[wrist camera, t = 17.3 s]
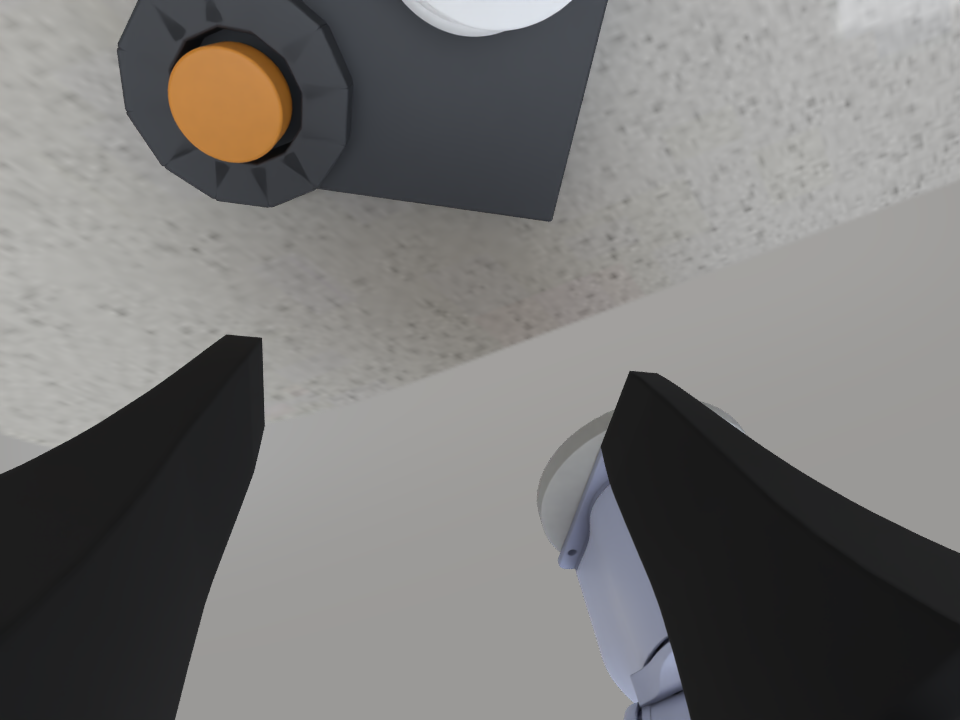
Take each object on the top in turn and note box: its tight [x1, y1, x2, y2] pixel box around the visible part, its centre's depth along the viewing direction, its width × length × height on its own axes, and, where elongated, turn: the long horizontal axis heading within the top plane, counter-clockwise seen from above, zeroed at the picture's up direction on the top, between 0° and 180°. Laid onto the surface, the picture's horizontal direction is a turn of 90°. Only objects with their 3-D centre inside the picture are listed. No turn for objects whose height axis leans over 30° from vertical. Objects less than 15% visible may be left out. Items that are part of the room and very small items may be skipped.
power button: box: [168, 41, 292, 163], centre depth 14 cm, size 3×3×2 cm
